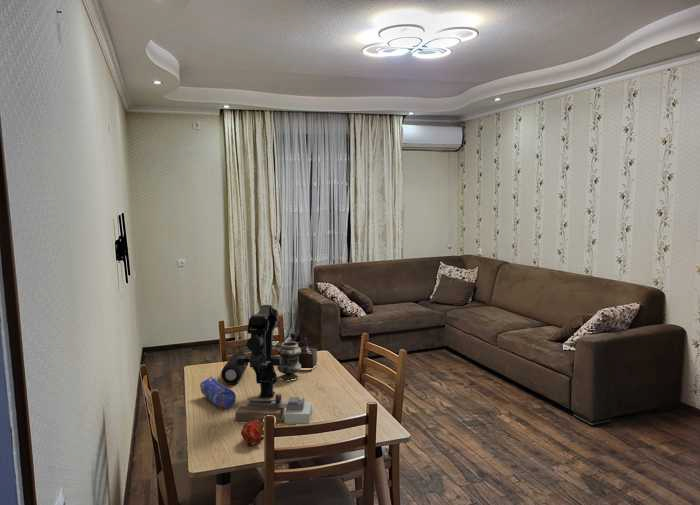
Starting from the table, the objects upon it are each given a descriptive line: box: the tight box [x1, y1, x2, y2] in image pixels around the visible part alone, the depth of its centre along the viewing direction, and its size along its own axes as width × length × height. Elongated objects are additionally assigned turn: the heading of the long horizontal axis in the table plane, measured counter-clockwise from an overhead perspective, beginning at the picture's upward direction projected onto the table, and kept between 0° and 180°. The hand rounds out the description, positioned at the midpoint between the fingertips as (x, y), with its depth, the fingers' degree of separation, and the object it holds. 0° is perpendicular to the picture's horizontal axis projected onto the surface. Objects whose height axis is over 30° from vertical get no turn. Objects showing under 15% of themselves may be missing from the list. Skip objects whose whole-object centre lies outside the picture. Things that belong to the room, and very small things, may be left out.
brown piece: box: [289, 331, 318, 368], centre depth 277 cm, size 16×11×18 cm
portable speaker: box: [220, 352, 249, 385], centre depth 261 cm, size 26×10×10 cm, turn 1°
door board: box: [234, 399, 285, 424], centre depth 212 cm, size 12×18×6 cm, turn 88°
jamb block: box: [283, 396, 313, 424], centre depth 212 cm, size 12×10×8 cm
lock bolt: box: [271, 393, 300, 409], centre depth 212 cm, size 12×2×5 cm, turn 88°
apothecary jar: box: [277, 341, 301, 381], centre depth 259 cm, size 12×12×18 cm
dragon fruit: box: [240, 420, 265, 447], centre depth 189 cm, size 8×8×12 cm
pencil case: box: [199, 376, 237, 411], centre depth 228 cm, size 22×9×10 cm, turn 37°
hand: (259, 380), depth 219 cm, fingers closed
